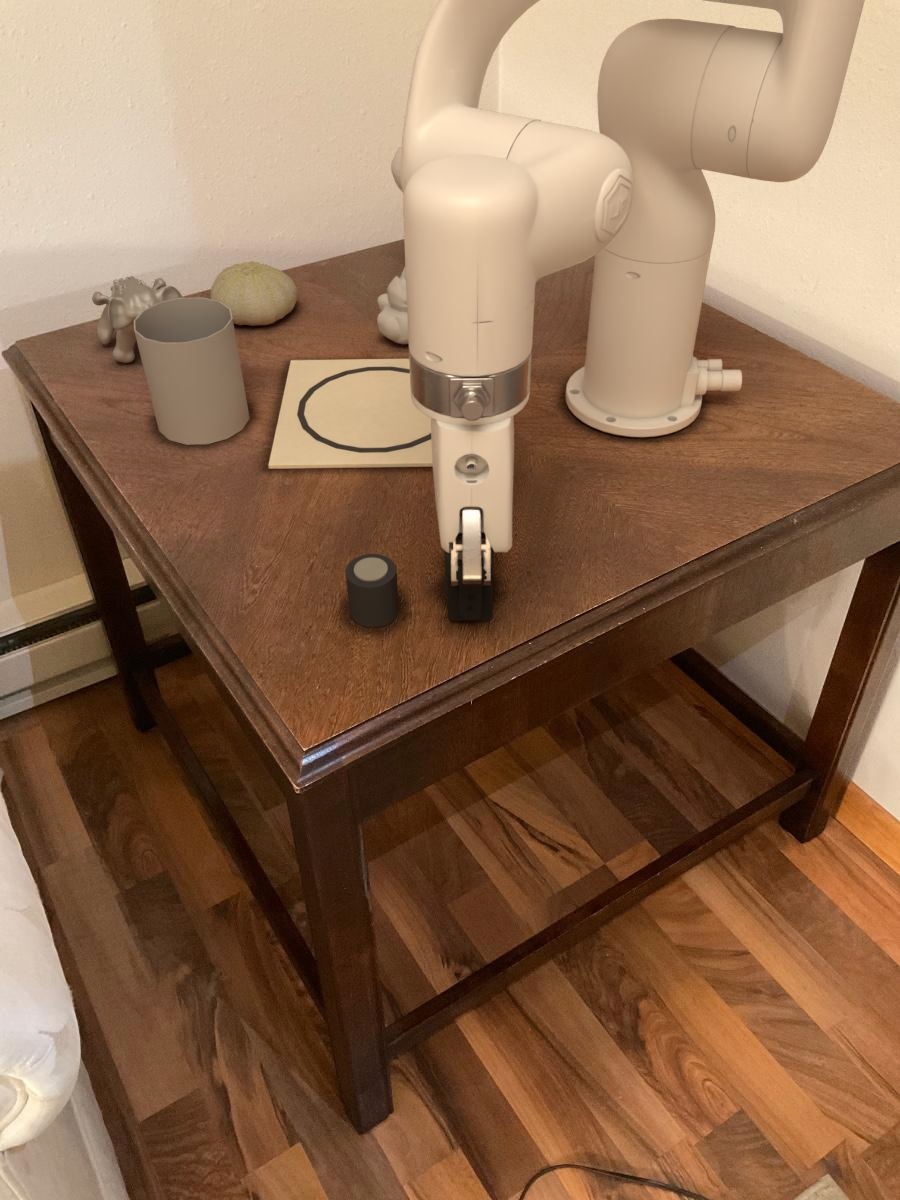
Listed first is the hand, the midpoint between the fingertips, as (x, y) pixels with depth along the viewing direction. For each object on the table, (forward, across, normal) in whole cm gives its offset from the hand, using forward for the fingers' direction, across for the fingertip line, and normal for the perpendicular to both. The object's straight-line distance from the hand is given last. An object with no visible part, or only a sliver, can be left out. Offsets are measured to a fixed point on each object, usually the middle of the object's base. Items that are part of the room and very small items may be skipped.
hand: (469, 585), depth 74 cm
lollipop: (+1, +53, +4) cm, 53 cm away
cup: (+1, +24, +24) cm, 34 cm away
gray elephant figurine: (+1, +36, +31) cm, 47 cm away
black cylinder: (+1, 0, 0) cm, 1 cm away
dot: (+1, -2, +7) cm, 7 cm away
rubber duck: (+1, +39, +6) cm, 39 cm away
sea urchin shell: (+1, +45, +22) cm, 50 cm away
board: (+1, +25, +8) cm, 26 cm away
